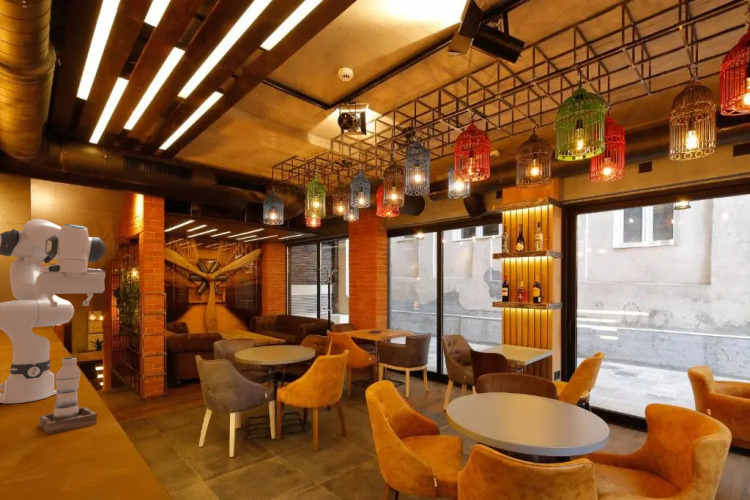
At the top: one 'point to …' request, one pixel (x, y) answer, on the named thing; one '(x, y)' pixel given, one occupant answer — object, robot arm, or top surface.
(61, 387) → the silver metal bottle
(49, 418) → the walnut tray
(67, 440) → the top surface
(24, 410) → the top surface
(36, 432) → the top surface
